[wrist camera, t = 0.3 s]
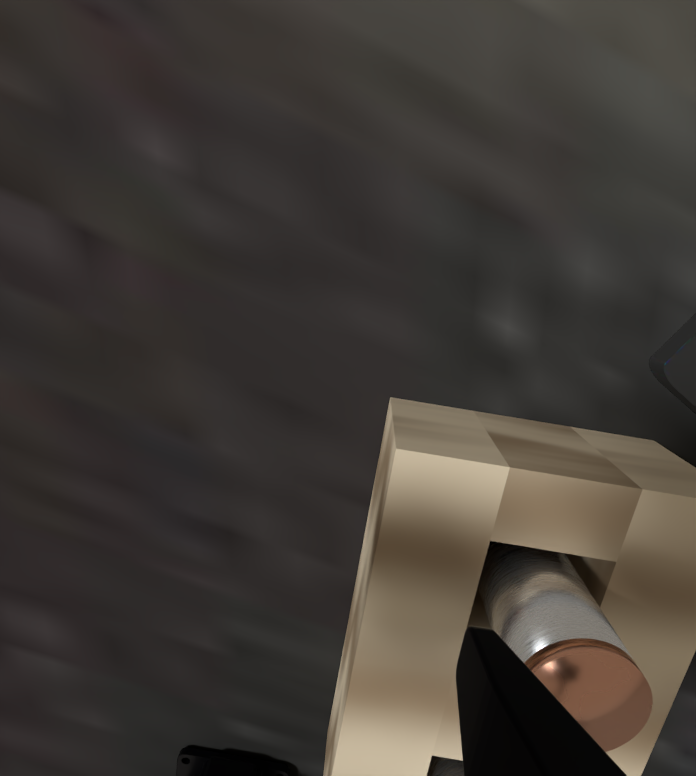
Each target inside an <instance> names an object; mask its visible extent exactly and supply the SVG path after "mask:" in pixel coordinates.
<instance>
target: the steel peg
mask: <svg viewBox="0 0 696 776" xmlns="http://www.w3.org/2000/svg"><path fill="white" fill-rule="evenodd" d="M478 588H479V592H480V595H481V598H482V601H483V604H484V608H485V611H486V614H487V617H488V620H489V623H490V627H491V629H492V630H494V631H495V632H496V633H497V634H498V635H499V636H500V637H501V638H502V639H503V641H504V642H505V643H506V644H507V645H508V646H509V647H510V648H511V649H512V650H513V651H514V653H515V654H516V655H517V656H518V657H519V658H520V659H521V660H522V661H523V662H524V663H525V665H526V666H527V667H528V668H529V669H530V670H531V671H532V672H533V673H534V674H535V676H536V677H537V678H538V679H539V680H540V681H541V682H542V683H543V684H544V685H545V686H546V688H547V689H548V690H549V691H550V692H551V693H552V694H553V695H554V696H555V697H556V698H557V700H558V701H559V702H560V703H561V704H562V705H563V706H564V707H565V708H566V709H567V711H568V712H569V713H570V714H571V715H572V716H573V717H574V718H575V719H576V720H577V721H578V723H579V724H580V725H581V726H582V727H583V728H584V729H585V730H586V731H587V732H588V734H589V735H590V736H591V737H592V738H593V739H594V740H595V741H596V742H597V743H598V744H599V746H600V747H601V748H602V749H603V750H604V751H605V752H608V751H611V750H613V749H616V748H618V747H620V746H622V745H624V744H625V743H627V742H628V741H630V740H631V739H632V738H634V737H635V736H636V735H637V734H638V733H639V732H640V731H641V730H642V728H643V727H644V726H645V724H646V723H647V721H648V719H649V717H650V714H651V711H652V704H653V697H652V692H651V688H650V686H649V683H648V682H647V680H646V678H645V677H644V675H643V674H642V672H641V670H640V669H639V667H638V666H637V664H636V663H635V661H634V660H633V658H632V656H631V655H630V653H629V652H628V650H627V649H626V647H625V646H624V644H623V643H622V641H621V639H620V638H619V636H618V635H617V633H616V632H615V630H614V629H613V627H612V626H611V624H610V622H609V621H608V619H607V618H606V616H605V615H604V613H603V612H602V610H601V608H600V607H599V605H598V604H597V602H596V601H595V599H594V598H593V596H592V595H591V593H590V591H589V590H588V588H587V587H586V585H585V584H584V582H583V581H582V579H581V578H580V576H579V574H578V573H577V571H576V570H575V568H574V567H573V565H572V564H571V562H570V560H569V559H568V557H567V556H566V554H565V553H560V552H554V551H548V550H542V549H536V548H530V547H525V546H519V545H513V544H507V543H501V542H494V543H493V544H492V545H490V546H489V547H488V550H487V554H486V558H485V561H484V565H483V569H482V573H481V576H480V580H479V584H478Z"/></svg>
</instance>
